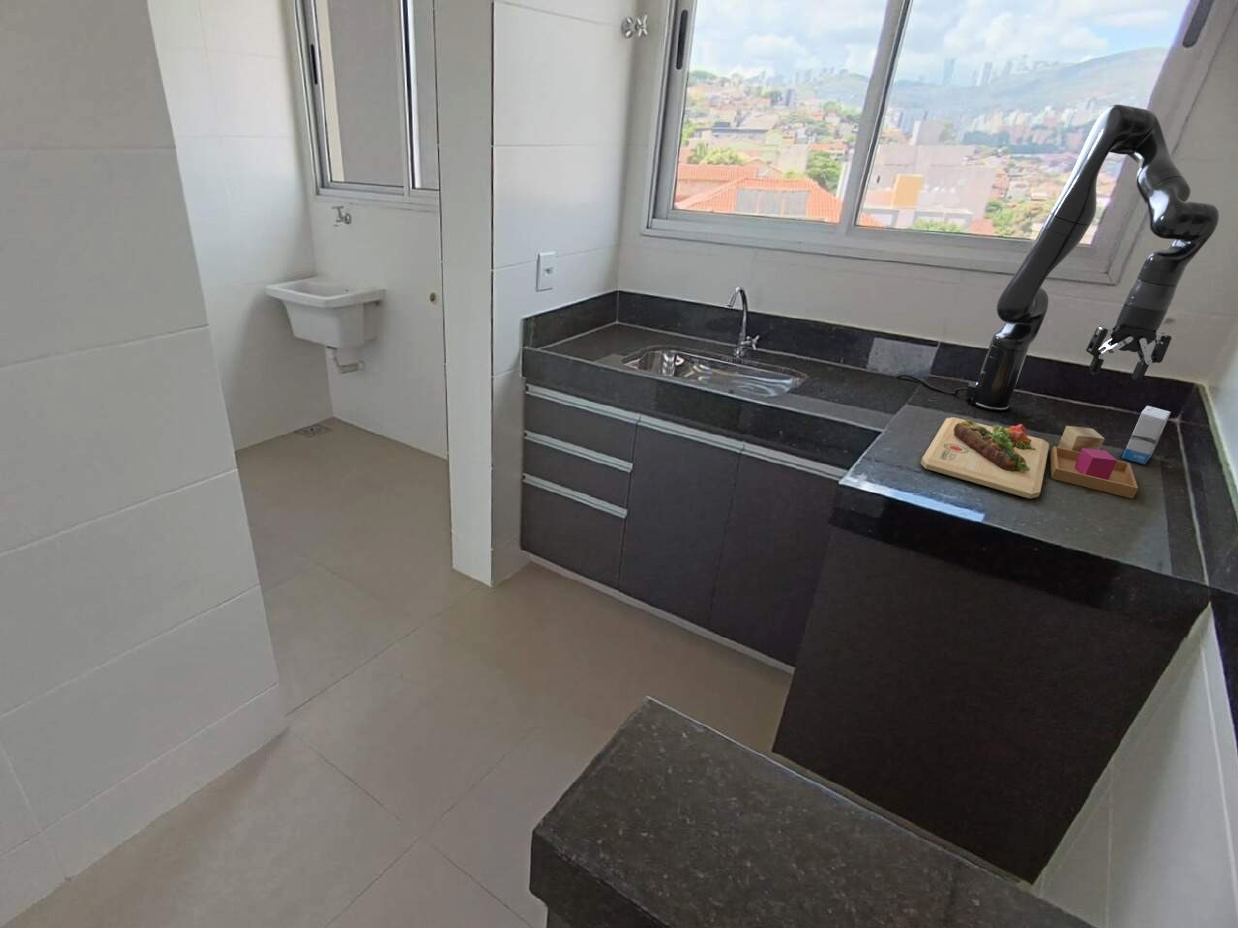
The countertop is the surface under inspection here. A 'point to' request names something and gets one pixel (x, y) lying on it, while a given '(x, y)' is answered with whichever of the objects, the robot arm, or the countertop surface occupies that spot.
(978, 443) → the cutting board
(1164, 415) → the ink box
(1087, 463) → the pink block
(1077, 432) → the base block
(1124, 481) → the tray
